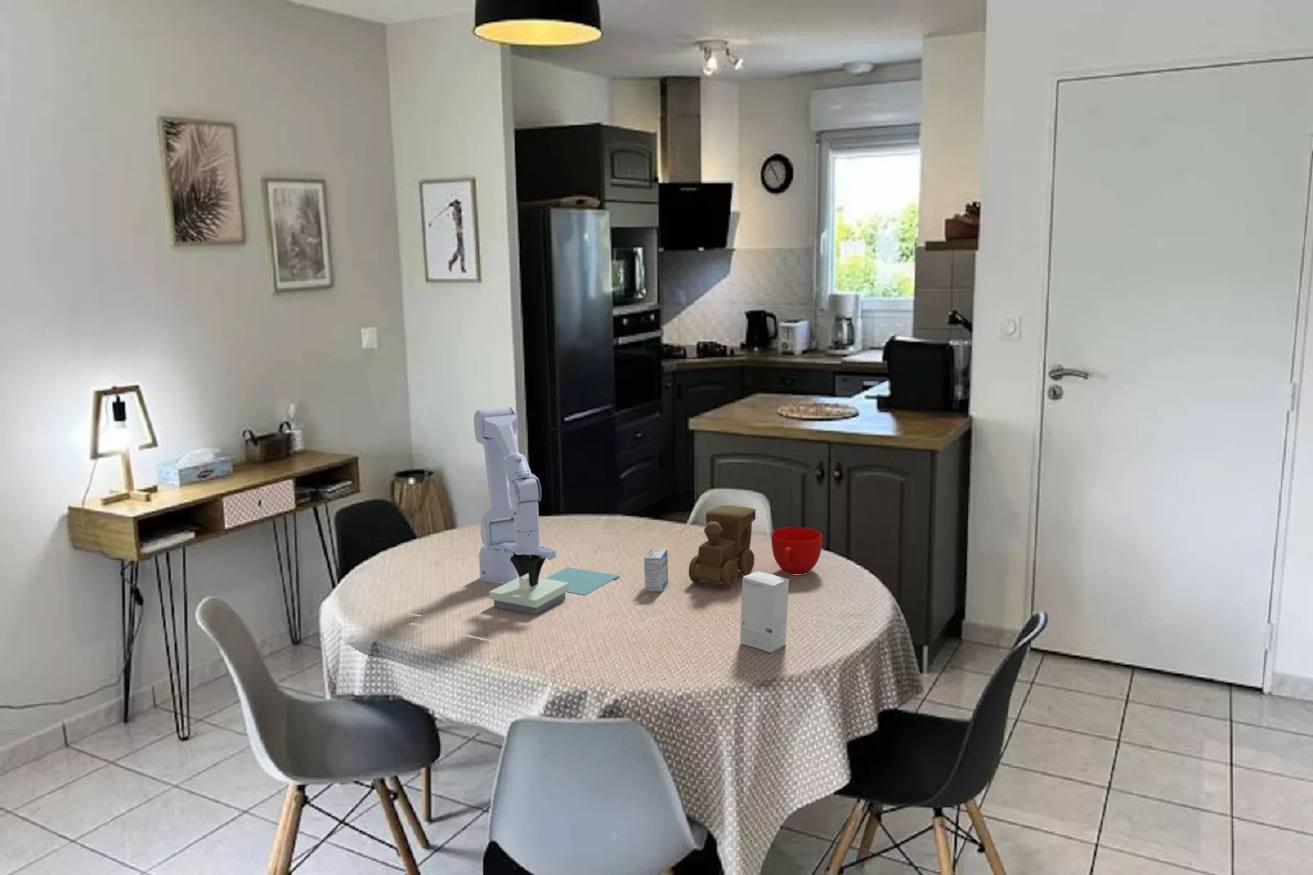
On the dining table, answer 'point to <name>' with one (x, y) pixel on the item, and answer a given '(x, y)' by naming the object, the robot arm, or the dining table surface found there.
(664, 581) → the medicine box
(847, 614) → the dining table surface
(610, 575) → the mat
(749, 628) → the skincare box
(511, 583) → the lid
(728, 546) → the wooden toy train
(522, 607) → the tub
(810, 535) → the ceramic cup
